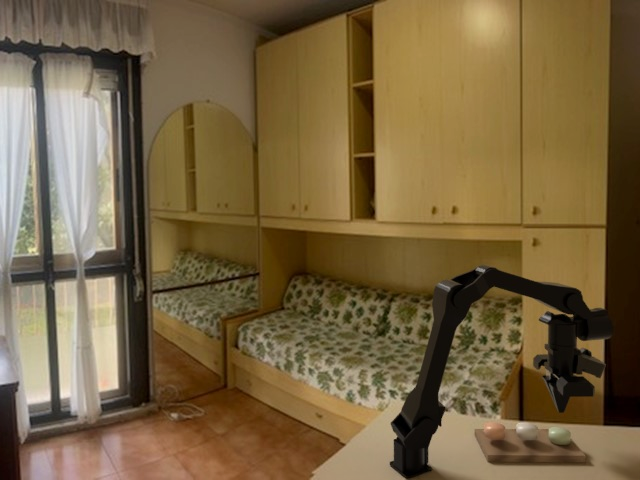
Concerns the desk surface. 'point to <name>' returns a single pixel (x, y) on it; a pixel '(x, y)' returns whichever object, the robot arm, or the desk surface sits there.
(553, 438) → the sage button
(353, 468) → the desk surface
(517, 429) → the grey button
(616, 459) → the desk surface
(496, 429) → the terracotta button
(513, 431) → the console
